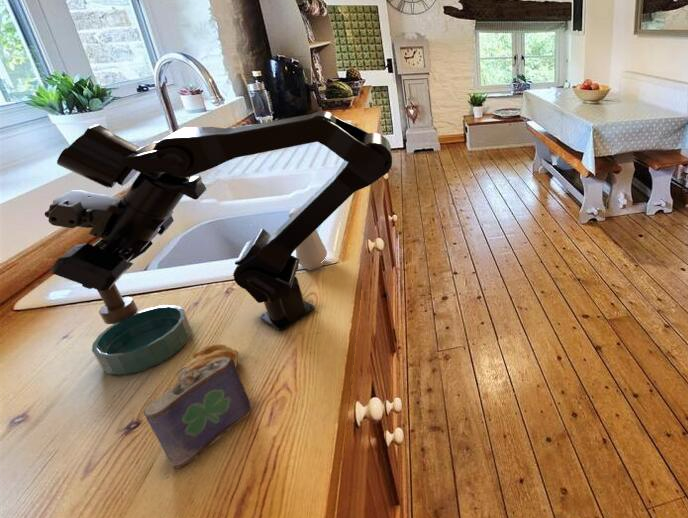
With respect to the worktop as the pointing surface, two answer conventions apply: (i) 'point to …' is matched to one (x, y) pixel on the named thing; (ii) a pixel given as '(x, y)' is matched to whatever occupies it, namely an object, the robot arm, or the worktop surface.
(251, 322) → the worktop surface
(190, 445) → the flask
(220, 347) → the pastry
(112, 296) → the brown wooden peg
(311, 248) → the salt shaker
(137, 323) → the bowl
